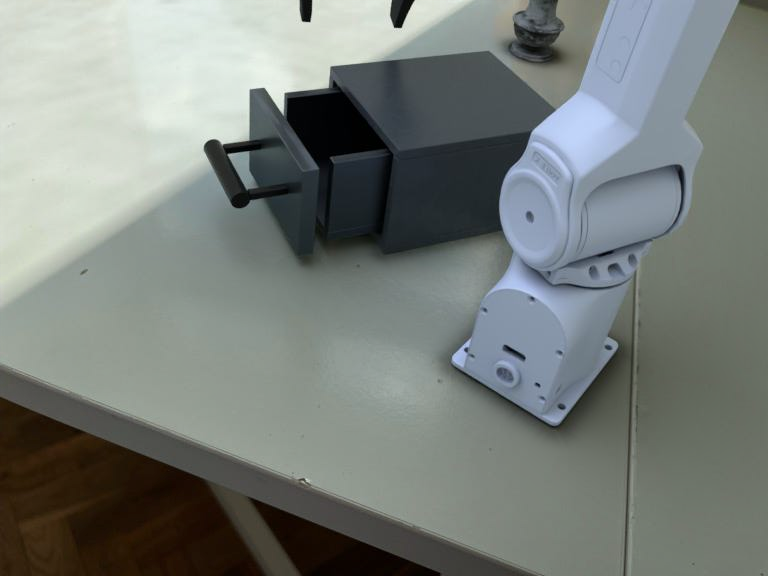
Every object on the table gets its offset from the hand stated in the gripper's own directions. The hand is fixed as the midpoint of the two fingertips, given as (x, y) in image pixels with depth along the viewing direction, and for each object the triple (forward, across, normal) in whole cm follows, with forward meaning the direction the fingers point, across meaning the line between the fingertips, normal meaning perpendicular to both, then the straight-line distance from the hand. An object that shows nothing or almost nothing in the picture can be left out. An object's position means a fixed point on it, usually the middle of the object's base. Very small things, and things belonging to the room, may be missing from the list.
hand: (351, 19), depth 65 cm
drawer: (+8, +3, +13) cm, 16 cm away
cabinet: (+9, -6, +11) cm, 16 cm away
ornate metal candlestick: (+11, -25, -16) cm, 32 cm away
